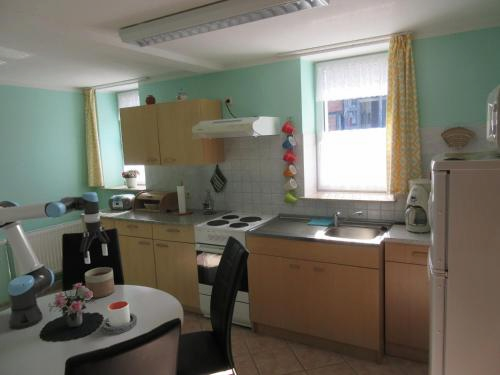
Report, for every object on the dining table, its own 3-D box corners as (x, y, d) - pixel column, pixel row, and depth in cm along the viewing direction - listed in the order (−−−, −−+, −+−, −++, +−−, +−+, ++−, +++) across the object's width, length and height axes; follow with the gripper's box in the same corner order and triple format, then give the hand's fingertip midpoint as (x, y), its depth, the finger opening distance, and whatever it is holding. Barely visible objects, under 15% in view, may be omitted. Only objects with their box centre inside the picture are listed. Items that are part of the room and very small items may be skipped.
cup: (123, 329, 180) (121, 310, 179) (105, 328, 182) (103, 309, 181) (134, 319, 190) (132, 301, 189) (116, 318, 192) (114, 300, 191)
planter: (81, 298, 221) (79, 276, 219) (96, 287, 237) (94, 266, 235) (105, 299, 219) (103, 276, 217) (119, 288, 234) (117, 267, 232)
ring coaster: (95, 331, 181) (95, 326, 181) (117, 316, 196) (116, 311, 196) (123, 335, 176) (122, 330, 176) (142, 319, 191) (142, 314, 191)
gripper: (80, 227, 186) (85, 267, 189) (113, 216, 209) (117, 252, 212) (69, 226, 188) (73, 266, 191) (103, 215, 212) (106, 251, 215)
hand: (96, 259), depth 202 cm, fingers open, 13 cm apart
